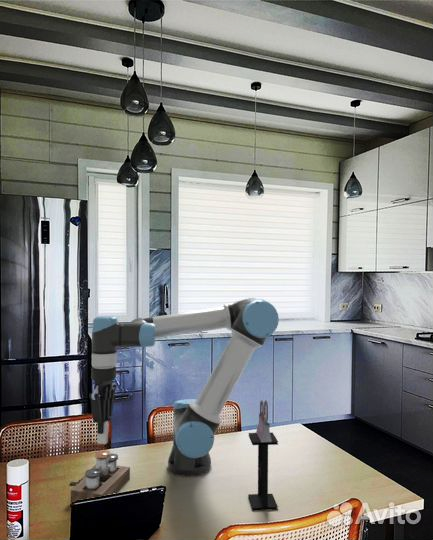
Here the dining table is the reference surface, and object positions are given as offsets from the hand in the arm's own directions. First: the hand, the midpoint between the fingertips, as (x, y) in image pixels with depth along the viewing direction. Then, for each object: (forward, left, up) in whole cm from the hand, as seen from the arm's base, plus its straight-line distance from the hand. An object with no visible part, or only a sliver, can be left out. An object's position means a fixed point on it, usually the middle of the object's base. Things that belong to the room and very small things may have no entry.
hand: (102, 442), depth 127 cm
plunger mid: (0, 0, -11) cm, 11 cm away
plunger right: (0, -6, -14) cm, 15 cm away
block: (0, 0, -15) cm, 15 cm away
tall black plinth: (-49, -6, -15) cm, 52 cm away
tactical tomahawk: (+9, -11, -15) cm, 21 cm away
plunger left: (0, +5, -14) cm, 15 cm away
